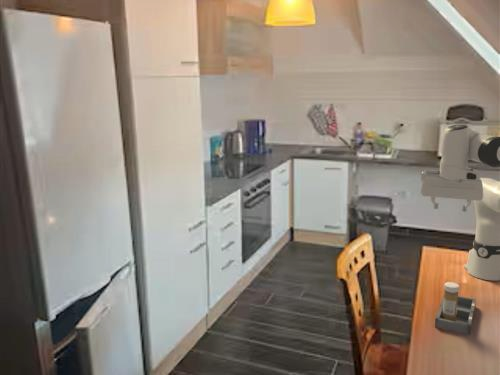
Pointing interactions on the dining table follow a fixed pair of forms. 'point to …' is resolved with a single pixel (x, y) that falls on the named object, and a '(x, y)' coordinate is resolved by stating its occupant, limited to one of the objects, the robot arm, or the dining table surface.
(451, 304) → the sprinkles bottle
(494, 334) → the dining table surface
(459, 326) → the grey divided tray
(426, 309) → the dining table surface
